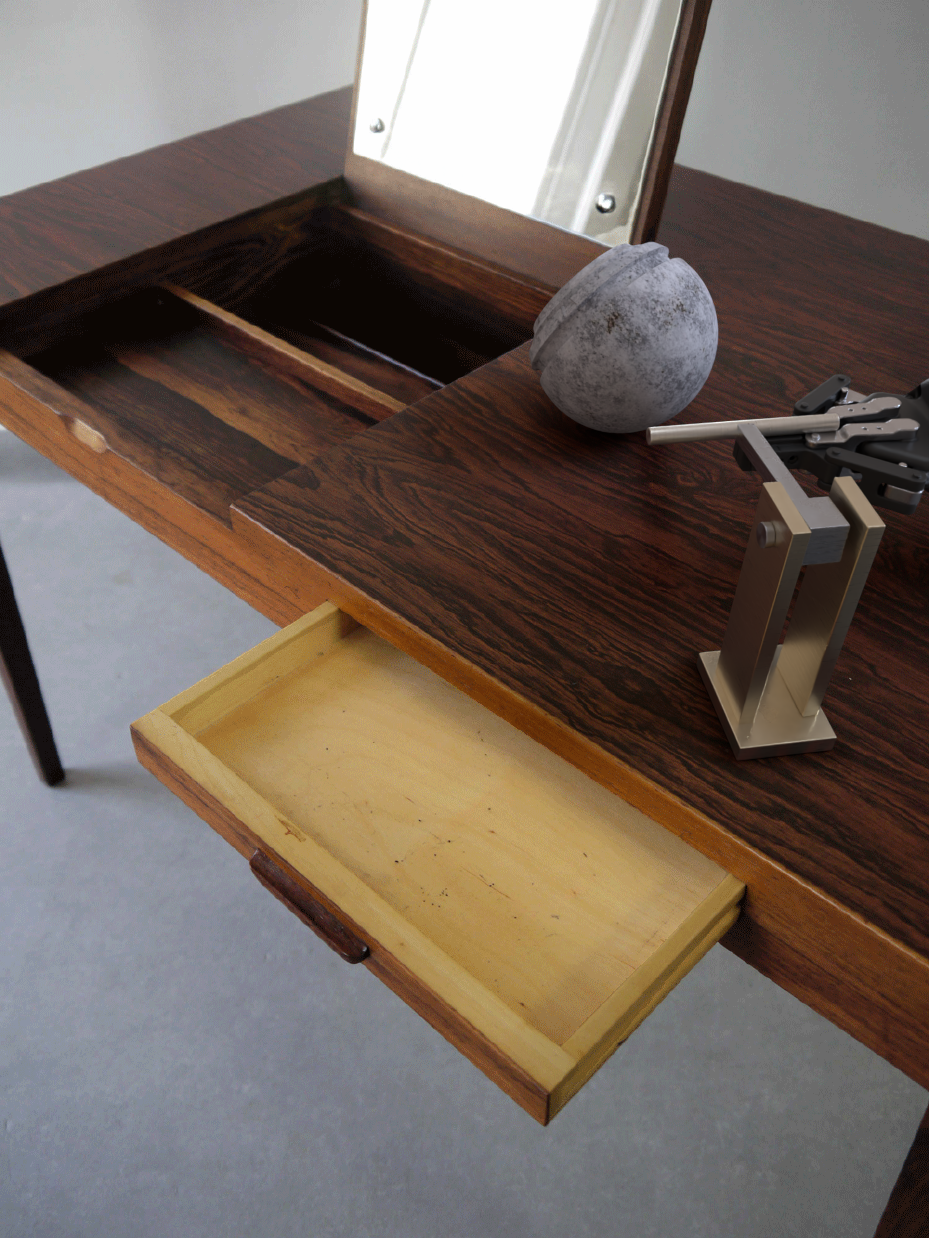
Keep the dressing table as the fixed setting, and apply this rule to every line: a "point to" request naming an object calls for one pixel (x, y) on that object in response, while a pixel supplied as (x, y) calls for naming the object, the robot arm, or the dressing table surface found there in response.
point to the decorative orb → (626, 340)
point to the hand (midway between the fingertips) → (738, 451)
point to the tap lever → (775, 470)
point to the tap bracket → (802, 666)
